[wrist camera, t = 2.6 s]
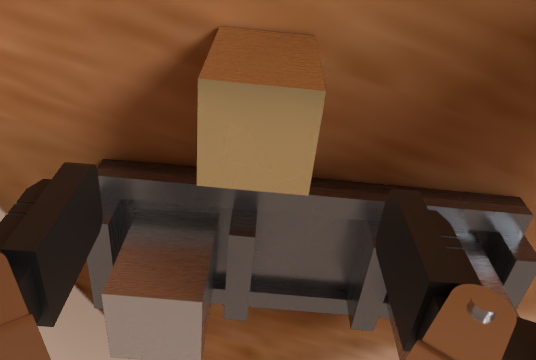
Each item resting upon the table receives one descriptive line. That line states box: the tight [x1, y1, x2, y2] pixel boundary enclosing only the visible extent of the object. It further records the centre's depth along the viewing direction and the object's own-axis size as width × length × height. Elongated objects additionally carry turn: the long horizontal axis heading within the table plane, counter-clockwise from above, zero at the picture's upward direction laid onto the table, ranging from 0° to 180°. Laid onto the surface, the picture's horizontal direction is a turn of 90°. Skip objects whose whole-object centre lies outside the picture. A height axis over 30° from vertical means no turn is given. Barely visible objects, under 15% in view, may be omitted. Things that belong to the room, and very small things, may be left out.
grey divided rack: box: [87, 159, 536, 360], centre depth 23 cm, size 8×21×7 cm, turn 85°
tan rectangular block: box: [197, 26, 326, 196], centre depth 18 cm, size 4×4×6 cm
